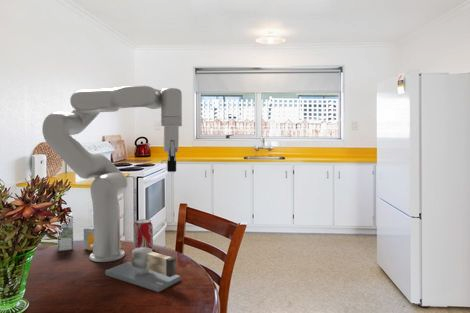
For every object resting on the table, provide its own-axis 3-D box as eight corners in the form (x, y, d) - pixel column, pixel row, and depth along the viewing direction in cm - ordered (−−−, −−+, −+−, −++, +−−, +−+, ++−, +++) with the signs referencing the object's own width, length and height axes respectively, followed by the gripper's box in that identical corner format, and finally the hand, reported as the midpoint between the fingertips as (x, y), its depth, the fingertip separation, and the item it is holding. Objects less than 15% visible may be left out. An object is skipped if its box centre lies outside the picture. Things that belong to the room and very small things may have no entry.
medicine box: (92, 250, 141) (92, 229, 141) (83, 249, 143) (83, 228, 142) (105, 244, 149) (105, 224, 148) (96, 243, 150) (96, 223, 150)
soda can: (148, 253, 138) (147, 223, 137) (131, 252, 140) (131, 222, 139) (155, 248, 145) (155, 219, 144) (139, 246, 146) (139, 218, 146)
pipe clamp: (121, 247, 145) (121, 232, 145) (117, 251, 141) (117, 235, 140) (92, 246, 146) (92, 231, 145) (87, 250, 141) (87, 234, 141)
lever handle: (127, 266, 114) (127, 251, 113) (143, 261, 119) (143, 245, 119) (165, 279, 104) (165, 262, 104) (180, 272, 109) (180, 256, 109)
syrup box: (73, 245, 147) (72, 211, 146) (73, 250, 142) (72, 214, 141) (58, 247, 145) (57, 212, 144) (57, 252, 139) (56, 215, 139)
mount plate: (105, 274, 117) (105, 262, 117) (128, 265, 125) (128, 253, 125) (158, 292, 104) (158, 277, 104) (180, 280, 113) (180, 267, 113)
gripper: (160, 122, 136) (160, 169, 138) (161, 121, 122) (162, 173, 123) (180, 123, 138) (180, 169, 139) (183, 121, 124) (183, 173, 125)
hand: (171, 171), depth 131 cm, fingers closed
